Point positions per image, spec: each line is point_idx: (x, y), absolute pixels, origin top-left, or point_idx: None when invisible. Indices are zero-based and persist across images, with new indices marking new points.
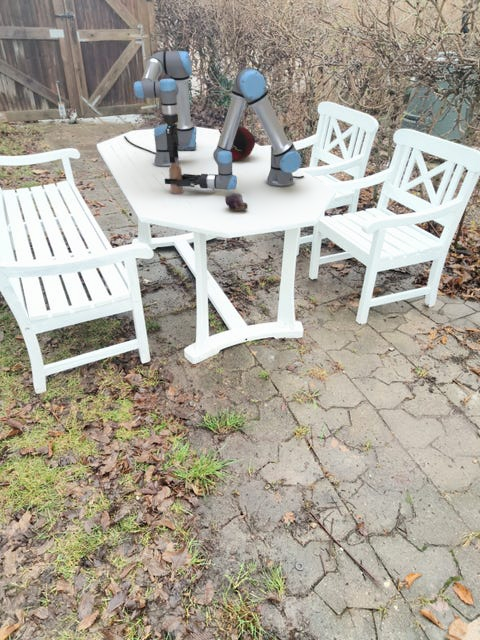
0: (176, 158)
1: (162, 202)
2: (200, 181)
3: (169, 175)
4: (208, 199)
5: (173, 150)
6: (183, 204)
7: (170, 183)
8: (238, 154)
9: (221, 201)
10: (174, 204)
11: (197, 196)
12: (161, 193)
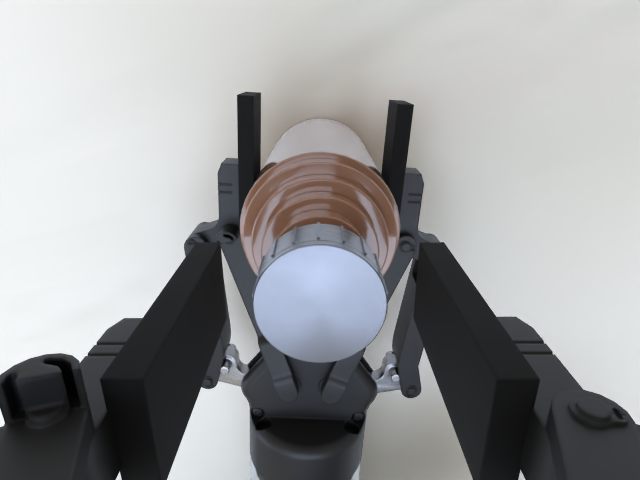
0: (282, 350)
1: (52, 117)
2: (250, 422)
3: (292, 145)
4: (200, 402)
5: (129, 471)
6: (65, 279)
7: (226, 159)
8: None
9: (183, 468)
10: (43, 220)
11: (241, 332)
12: (260, 41)
